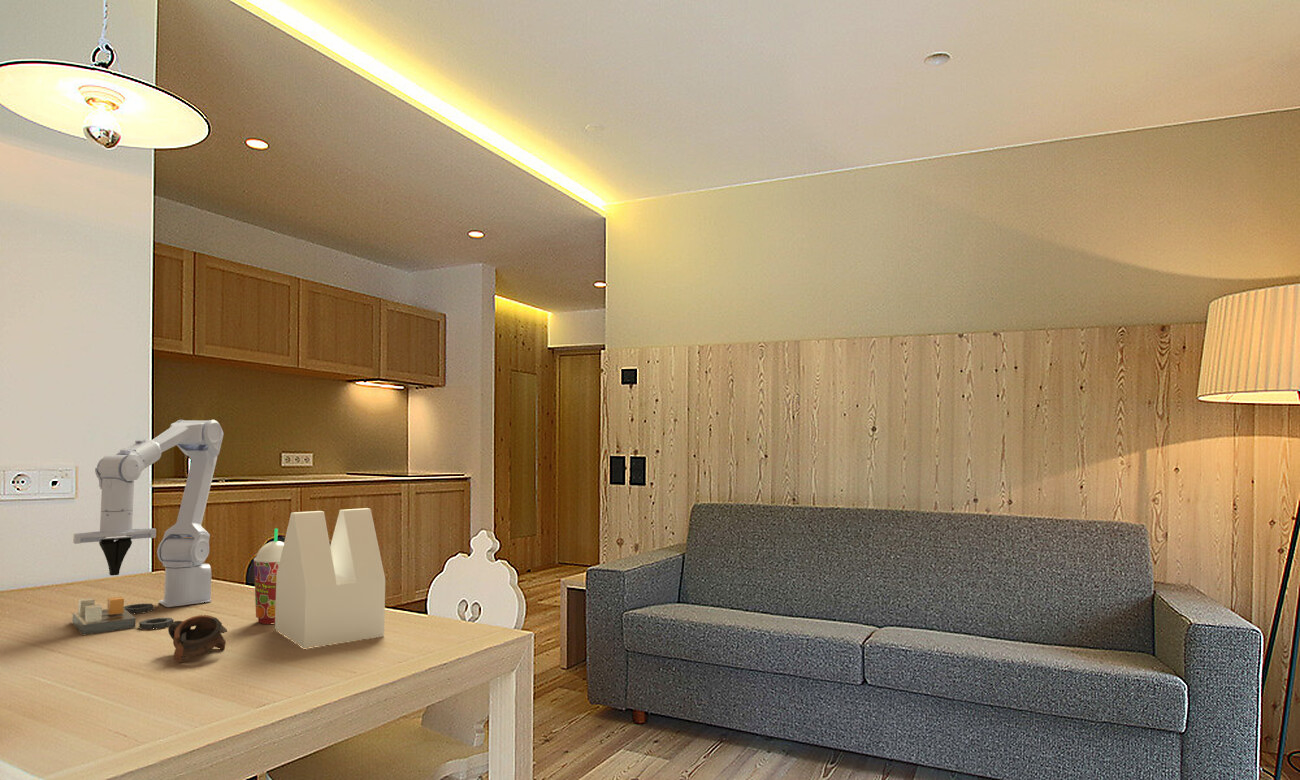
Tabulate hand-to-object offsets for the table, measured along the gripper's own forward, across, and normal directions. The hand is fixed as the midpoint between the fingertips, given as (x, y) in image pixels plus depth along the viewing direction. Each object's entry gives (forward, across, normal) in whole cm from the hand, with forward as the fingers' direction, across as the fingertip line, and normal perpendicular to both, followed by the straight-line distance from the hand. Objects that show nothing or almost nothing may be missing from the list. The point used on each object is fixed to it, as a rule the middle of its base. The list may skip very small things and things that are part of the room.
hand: (114, 574), depth 167 cm
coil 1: (+10, +6, +10) cm, 16 cm away
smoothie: (+11, +26, -20) cm, 35 cm away
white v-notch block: (+11, +31, -38) cm, 51 cm away
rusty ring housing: (+11, +7, -38) cm, 40 cm away
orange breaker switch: (+8, 0, 0) cm, 8 cm away
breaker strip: (+10, -2, 0) cm, 11 cm away
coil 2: (+10, +6, -8) cm, 15 cm away
